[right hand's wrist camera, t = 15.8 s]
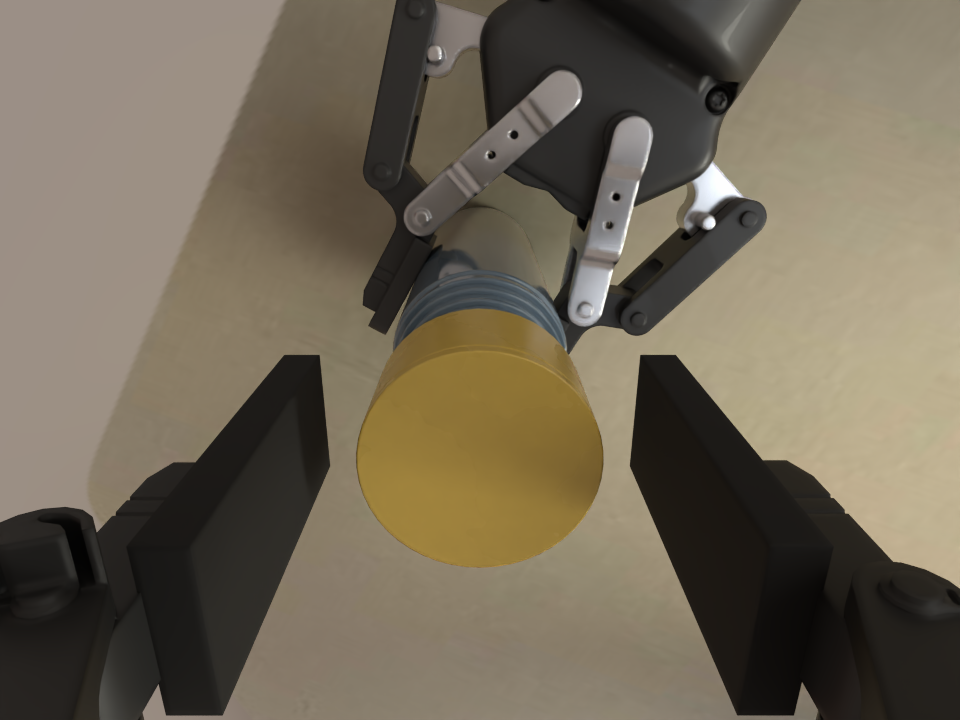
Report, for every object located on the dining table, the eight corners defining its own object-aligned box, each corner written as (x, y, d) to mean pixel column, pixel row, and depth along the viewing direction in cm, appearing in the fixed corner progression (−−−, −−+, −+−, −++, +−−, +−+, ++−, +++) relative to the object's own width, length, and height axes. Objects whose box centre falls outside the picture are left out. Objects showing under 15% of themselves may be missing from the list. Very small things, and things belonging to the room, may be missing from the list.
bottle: (553, 252, 29) (653, 436, 12) (487, 329, 30) (495, 590, 14) (472, 184, 28) (460, 283, 11) (407, 267, 29) (309, 467, 13)
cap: (358, 323, 14) (331, 369, 11) (572, 294, 13) (592, 333, 11) (398, 505, 15) (382, 581, 13) (590, 481, 15) (612, 553, 13)
